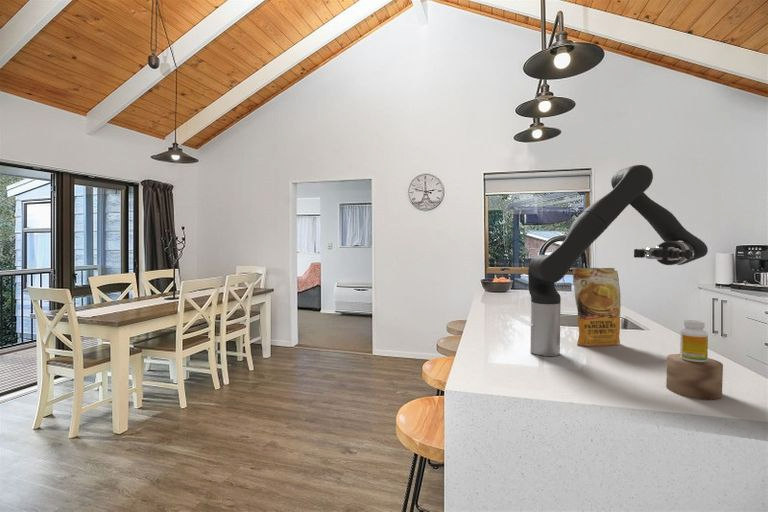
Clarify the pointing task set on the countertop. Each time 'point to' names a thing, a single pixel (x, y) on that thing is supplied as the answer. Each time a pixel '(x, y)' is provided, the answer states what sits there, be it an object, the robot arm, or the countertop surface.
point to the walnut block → (694, 378)
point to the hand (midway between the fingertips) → (655, 254)
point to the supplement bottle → (694, 342)
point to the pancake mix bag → (597, 306)
